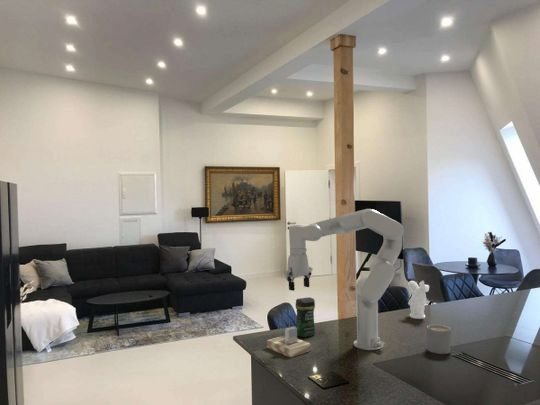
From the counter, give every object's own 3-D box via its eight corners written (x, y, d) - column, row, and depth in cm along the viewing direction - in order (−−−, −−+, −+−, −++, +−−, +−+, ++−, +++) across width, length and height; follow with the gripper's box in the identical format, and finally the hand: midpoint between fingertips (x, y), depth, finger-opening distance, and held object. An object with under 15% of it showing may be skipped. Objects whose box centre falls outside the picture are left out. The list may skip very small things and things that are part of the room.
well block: (310, 351, 190) (310, 343, 190) (290, 357, 183) (290, 349, 183) (287, 341, 203) (286, 334, 203) (267, 347, 195) (267, 340, 195)
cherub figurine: (405, 315, 248) (404, 277, 248) (423, 313, 252) (422, 276, 252) (418, 320, 236) (417, 281, 236) (437, 318, 240) (436, 279, 240)
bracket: (297, 349, 192) (296, 327, 192) (288, 352, 189) (288, 330, 189) (289, 346, 197) (289, 325, 196) (280, 349, 194) (280, 327, 193)
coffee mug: (440, 355, 184) (440, 332, 184) (422, 348, 193) (421, 326, 193) (460, 349, 191) (460, 327, 191) (441, 343, 199) (441, 322, 199)
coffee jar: (301, 338, 207) (301, 300, 207) (293, 334, 215) (292, 297, 214) (317, 335, 212) (317, 298, 212) (309, 331, 219) (309, 295, 219)
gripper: (305, 249, 207) (306, 284, 207) (278, 253, 195) (280, 290, 195) (316, 250, 201) (317, 286, 201) (289, 254, 190) (291, 292, 190)
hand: (299, 288), depth 198 cm, fingers open, 9 cm apart
